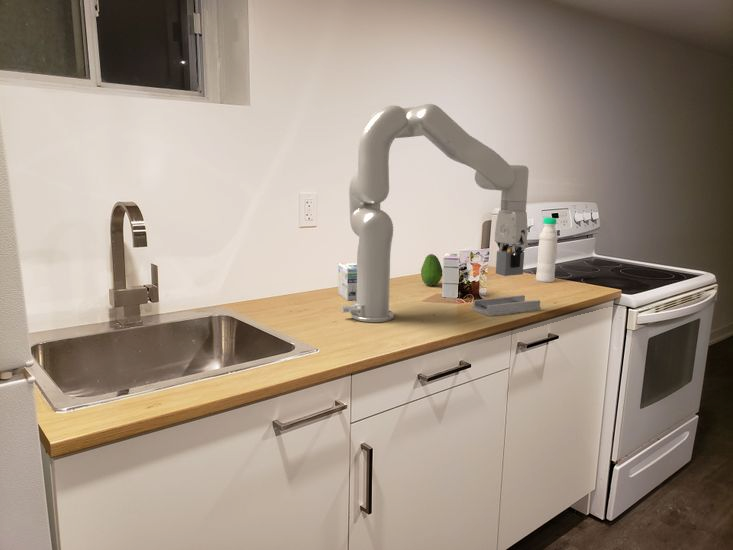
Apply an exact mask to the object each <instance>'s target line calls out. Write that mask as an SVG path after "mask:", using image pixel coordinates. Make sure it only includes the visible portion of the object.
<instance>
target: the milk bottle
mask: <svg viewBox="0 0 733 550" xmlns="http://www.w3.org/2000/svg"><path fill="white" fill-rule="evenodd" d="M542 221H543V228H542V230H541V232H539V235H538V239H539V240H538V245H537V246H538V248H537V263H536V274H535V280H536V281H537V282H540V283H553V282H554V281H555V272H556V259H557V252H558V239H559V235H558V232H557V230H556V228H555V226H556V224H557V218H555V217H544V218H543V220H542Z"/></svg>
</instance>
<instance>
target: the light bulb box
mask: <svg viewBox="0 0 733 550" xmlns="http://www.w3.org/2000/svg"><path fill="white" fill-rule="evenodd" d="M337 266H338V269H337V270H338V273H337V274H338V276H337V277H338V285H337V287H338V289H337V294H338V293H339V296H341V297H343V299H345V300H346V301H357V262H352V263H351V262H349V263H347V262H346V263H345V262H342V263H341V262H340V263H338V265H337Z"/></svg>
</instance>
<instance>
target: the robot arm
mask: <svg viewBox="0 0 733 550" xmlns="http://www.w3.org/2000/svg"><path fill="white" fill-rule="evenodd" d="M423 136H424V137H425V138H426V139H427V140H428V141H430V142H431V143H432V144H433V145H434V146H435V147H437V148H438V149H439V150H440V151H441V152H442V153H443V154H444V155H445V156H446V157H447V158H449V159H451V160H452V161H454V162H457V163H459V164H463V165H465V166H467V167H469V168H470V169H473V170H474V171H475V173H474V181H475V183H476V185H477V186H478V187H480V188H481V189H484V190H489V191H500V192H501V196H500V197H501V199H500V209H499V211H498V213H497V217H496V223H495V228H494V229H495V230H494V231H495V232H494V241H495V243H496V244H497V247H498V251H507V249H510V246H511V249H512V250H513V255H511V268H515V267H520V257H521V254H522V252H524V251H525V250H526V249H527V248H528V247H529V246H530V245H529V243H528V214H527V200H528V187H529V185H528V184H529V167H527V166H526V165H522V164H521V165H520V164H518V165H517V164H516V165H515V164H513V165H512V164H511V165H510V163H508V161H506V160H505V159H504V158H503V157H502V156H501V155H500V154H499V153H497V152H496V151H495V150H493V149H492V148H491V147H489V146H487V145H486V144H484V143H483V142H481V141H479V140H478V139H476V137H473V136H471V134H469V133H468V132H466V130H464V129H463V128H462V127H461V125H459V124H458V123H457V122H456V121H455V120H454V119H452V118H451V117H450V116H449V115H448V113H446V112H445V111H444V110H443V109H442V108H441V107H439V106H438V105H436V104H433V103H427V104H422V105H418V106H413V107H401V106H399V105H389V106H384V107H381V108H379V109H376V110H375V111H374V112H372V114H371V115H370V117H369V120H368V123H367V124H366V126H365V127H364V129H363V131H362V134H361V136H360V139H359V144H358V150H357V151H358V154H357V155H358V160H357V172H356V173H354V175H353V176H352V178H351V179H350V183H349V188H348V189H349V190H348V192H349V193H348V197H349V201H348V202H349V223H350V227H351V230H352V232H353V233H354V234H355V235H356V236H357V237H358V245H357V255H356V257H357V258H356V264H357V300H352V304H350V305H341V306H340V312H341V313H349V314H350V316H351V318H352V319H354V320H355V321H359V322H363V323H381V322H388V321H391V320H393V319H394V318H395V313H394V312H393V311H392V310H390V287H391V284H390V281H391V279H390V277H391V250H392V243H393V237H394V224H393V220H392V218H391V217H390V215H389V214H388V213H387V212H386V211H384V210H382V209H381V203H382V202H385V200H386V199H387V198H388V196H389V194H390V193H389V192H390V169H389V168H390V167H389V165H390V164H389V163H390V162H389V160H390V157H389V156H390V149H391V146H392V143H394V141H395V139H400V138H401V139H403V138H413V137H414V138H415V137H423Z"/></svg>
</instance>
